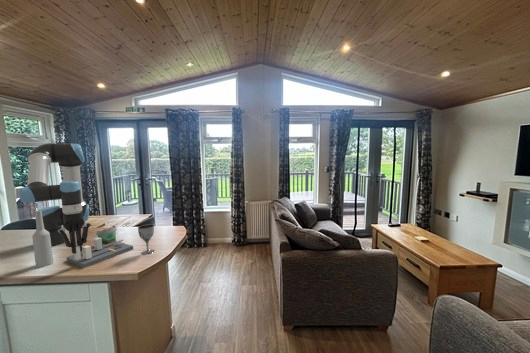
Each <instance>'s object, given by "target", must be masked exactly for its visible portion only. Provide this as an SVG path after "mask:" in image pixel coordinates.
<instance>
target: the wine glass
mask: <svg viewBox="0 0 530 353" xmlns="http://www.w3.org/2000/svg"><path fill="white" fill-rule="evenodd" d="M154 233H155V225H154V224H152V223H151V224H150V223H148V224H143V225H140V226H138V227H137V234H138V236H139V238H140V239H142V240H143V241H144V242H145V243H146V244H145V245H146V250H144V251H142V252H140V255H142V256H146V255H147V254H148V255H151V253H152V254H154V253H155V252H156V250H155V249H150V248H149V244H150V243H149V242H150V241H151V239H152V238H153V236H154ZM154 251H155V252H154ZM153 252H154V253H153Z"/></svg>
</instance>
